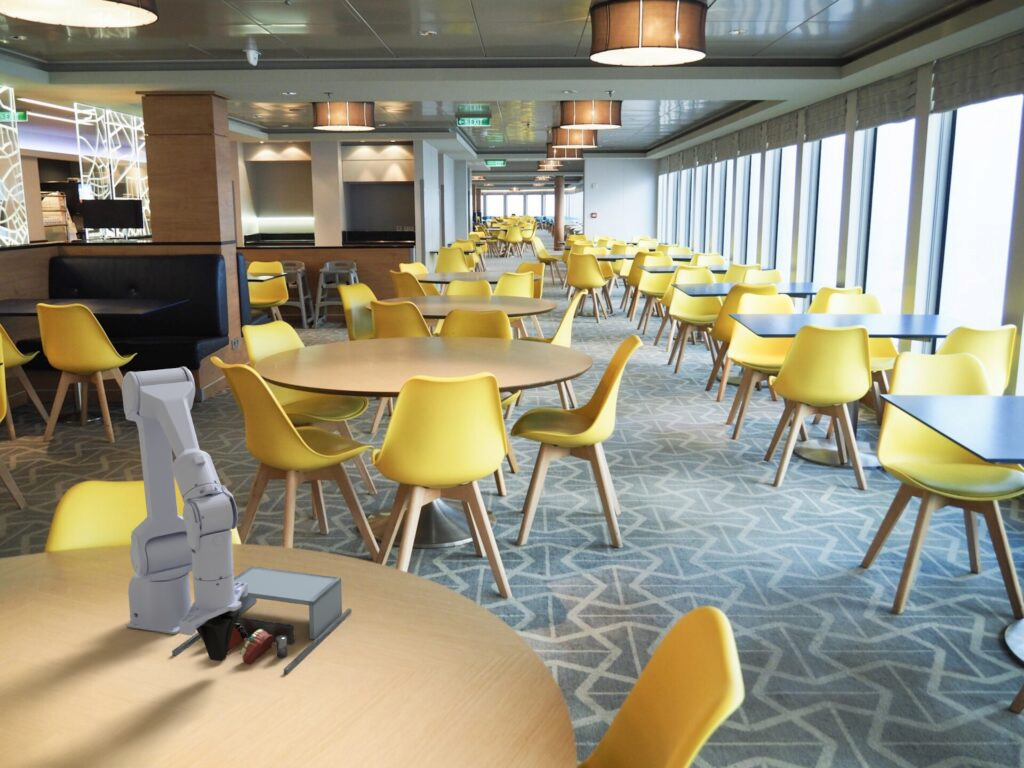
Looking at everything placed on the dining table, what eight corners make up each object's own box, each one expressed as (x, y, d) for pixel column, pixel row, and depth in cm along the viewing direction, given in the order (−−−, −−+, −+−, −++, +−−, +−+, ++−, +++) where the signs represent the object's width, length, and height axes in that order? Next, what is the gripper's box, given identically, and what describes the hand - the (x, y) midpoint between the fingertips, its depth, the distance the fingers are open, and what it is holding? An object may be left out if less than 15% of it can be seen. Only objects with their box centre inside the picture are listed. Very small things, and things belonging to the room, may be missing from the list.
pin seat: (172, 655, 137) (171, 638, 136) (249, 598, 158) (248, 583, 157) (287, 674, 132) (286, 656, 131) (351, 613, 153) (351, 597, 152)
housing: (220, 625, 147) (218, 588, 146) (252, 601, 157) (251, 566, 155) (314, 639, 143) (313, 601, 141) (342, 613, 152) (341, 577, 151)
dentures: (256, 638, 133) (206, 630, 136) (257, 668, 134) (207, 659, 137) (279, 622, 139) (230, 615, 142) (279, 650, 140) (231, 642, 143)
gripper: (208, 596, 121) (213, 686, 124) (263, 558, 135) (267, 640, 137) (164, 590, 123) (170, 679, 125) (223, 553, 137) (227, 634, 139)
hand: (218, 658), depth 131 cm, fingers closed
